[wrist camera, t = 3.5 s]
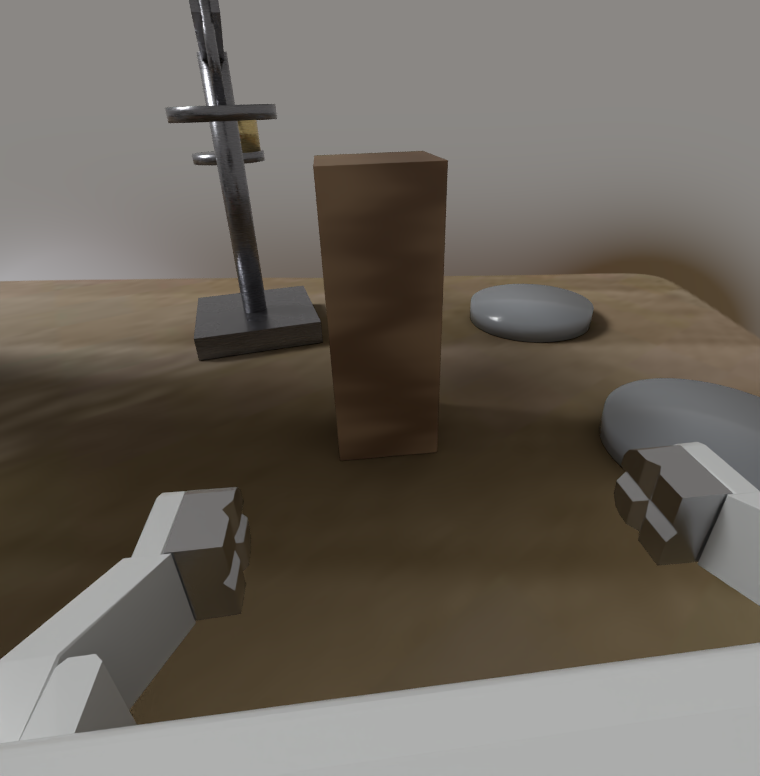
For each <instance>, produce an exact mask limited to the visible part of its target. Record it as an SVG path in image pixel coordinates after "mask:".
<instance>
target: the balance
mask: <svg viewBox="0 0 760 776" xmlns="http://www.w3.org/2000/svg"><path fill="white" fill-rule="evenodd" d="M189 3H190V8H191V14H192V18H193V22H194V27H195V32H196V36H197V41H198V46H199V50H200V52H197V57H198V63H199V68H200V74H201V79H202V84H203V90H204V96H205V101H206V106H192V107H191V106H190V107H170V108H165V109H166V114H167V119H168V123H192V122H209V123H210V128H211V134H212V139H213V145H214V150H215V151H211V152H201V153H195V154H192V157H193V162H194V164H195V165H217V167H218V172H219V177H220V183H221V188H222V194H223V199H224V205H225V210H226V216H227V221H228V227H229V232H230V238H231V243H232V249H233V254H234V259H235V265H236V271H237V276H238V282H239V287H240V292H241V293H237V294H229V295H220V296H212V297H203V298H198V307H197V316H196V325H195V333H194V341H195V346H196V350H197V354H198V358H199V360H205V359H212V358H219V357H226V356H233V355H240V354H247V353H253V352H260V351H267V350H274V349H281V348H288V347H294V346H301V345H308V344H315V343H322V342H323V339H322V328H321V321H320V319H319V317H318V315H317V313H316V311H315V309H314V307H313V305H312V303H311V301H310V299H309V297H308V295H307V292H306V290H305V288H304V286H297V287H288V288H280V289H271V290H264V287H263V281H262V274H261V268H260V263H259V255H258V250H257V243H256V236H255V230H254V224H253V217H252V211H251V204H250V199H249V192H248V186H247V179H246V173H245V166H244V164H245V163H254V162H260V161H264V160H265V159H264V152H263V150H261V149H260V143H259V136H258V128H257V121H256V120H267V119H277V115H276V106H275V104H257V105H256V104H254V105H235V104H234V103H235V102H234V96H233V90H232V84H231V77H230V71H229V64H228V58H227V53H226V52H224V51H223V40H222V29H221V19H220V10H219V3H218V0H189Z"/></svg>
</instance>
